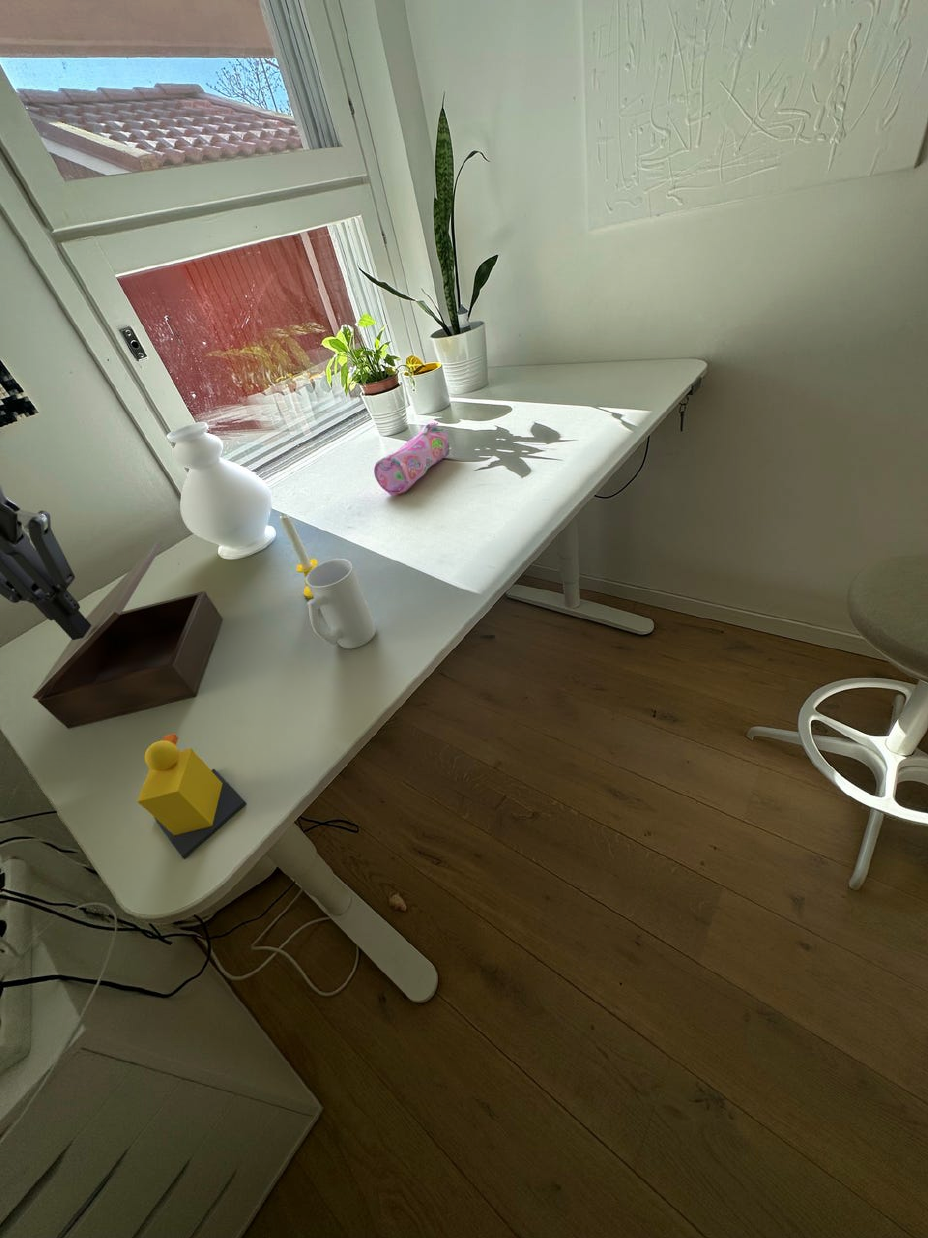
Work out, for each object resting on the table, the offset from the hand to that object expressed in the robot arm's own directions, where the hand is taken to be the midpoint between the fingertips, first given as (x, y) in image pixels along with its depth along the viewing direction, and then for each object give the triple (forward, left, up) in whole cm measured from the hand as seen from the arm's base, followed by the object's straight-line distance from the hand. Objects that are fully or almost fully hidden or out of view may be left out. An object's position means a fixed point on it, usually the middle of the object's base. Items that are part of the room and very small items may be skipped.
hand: (82, 632), depth 71 cm
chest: (+4, +5, -13) cm, 15 cm away
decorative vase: (+35, +27, -14) cm, 46 cm away
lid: (+3, +5, -2) cm, 7 cm away
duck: (-3, -28, -13) cm, 31 cm away
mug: (+26, -21, -14) cm, 36 cm away
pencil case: (+73, +11, -14) cm, 75 cm away
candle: (+32, -4, -14) cm, 35 cm away
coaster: (-3, -28, -13) cm, 32 cm away
